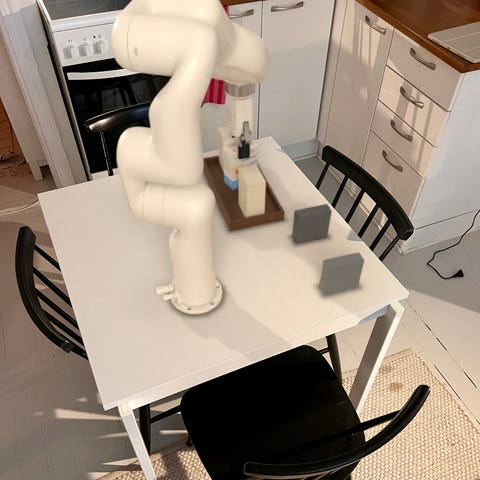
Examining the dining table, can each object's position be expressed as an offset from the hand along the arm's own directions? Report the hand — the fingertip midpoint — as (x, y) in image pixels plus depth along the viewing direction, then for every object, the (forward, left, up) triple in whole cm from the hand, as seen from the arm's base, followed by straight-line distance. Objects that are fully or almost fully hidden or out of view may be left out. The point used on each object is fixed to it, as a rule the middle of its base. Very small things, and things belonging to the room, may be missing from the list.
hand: (240, 150), depth 137 cm
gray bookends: (+12, -34, -14) cm, 38 cm away
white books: (0, 0, -14) cm, 14 cm away
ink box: (0, 0, -10) cm, 10 cm away
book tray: (0, 0, -14) cm, 14 cm away
